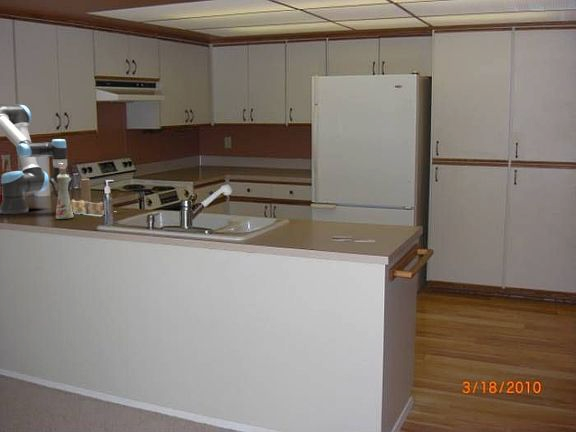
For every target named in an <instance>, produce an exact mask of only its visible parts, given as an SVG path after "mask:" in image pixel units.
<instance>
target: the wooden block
mask: <svg viewBox="0 0 576 432" xmlns="http://www.w3.org/2000/svg"><path fill="white" fill-rule="evenodd" d="M80 186H81V187H80V189H81V190H80V192H81V197H80V199H79V201H80V202H81V200H84V202H85V201H88V202H90V203H92V200H91V199H92V198H91V181H90V178H82V179H80Z"/></svg>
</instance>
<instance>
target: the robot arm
mask: <svg viewBox="0 0 576 432" xmlns="http://www.w3.org/2000/svg"><path fill="white" fill-rule="evenodd" d="M31 121H32V114H31V111H30V109H29V108H28V107H27V106H26V105H23V104H17V103H16V104H0V132H2V133H3V135H4V136H5V137H6V138H7V139H8V140H9V141H10V142H11V143H12V144H13V145H14V146H15V147H16V153H17V156H19V160H20V163H21V164H20V165H21V168H22V169H21V170H15V171H13V170H12V171H9V172H8V171H7V172H5V173H2V175H1V179H0V182H1V193H2V202H1V204H0V214H3V215H15V214H16V215H17V214H19V215H20V214H24V213H28V212H29V206H28V204H27V202H26V198H25V194H28V193H29V194H31V193H40V192H44V191H46V190H47V187H48V185H49V183H50V184H51V186H52V189H53V193H54V197H56V198H58V193H59V186H58V185H57V190H56V186H55V184H54V182H56V184H58V180H57V176H58V175H59V174H60V170H59V168H62V167H65V168H66V174H67V175H68V176H69V172H68V169H69V168H68V167H67V166H68V152H67V151H68V150H67V146H68V145H67V140H66V139H63V138H62V139H61V138H58V139H57V138H56V139H52V140H51V142H32V139H31V136H30V133H29V130H28V128H29V126H30V122H31ZM37 157H52V166H53V176H52V178H51V179H50V178H49V175H48V173H47V172H46V171H43V170H42V167H41V166H40V165H38V162H37ZM73 181H74V180H73V178H71V177H69V182H68V193H69V194H70V193H71V186H72V182H73ZM57 191H58V192H57Z"/></svg>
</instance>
